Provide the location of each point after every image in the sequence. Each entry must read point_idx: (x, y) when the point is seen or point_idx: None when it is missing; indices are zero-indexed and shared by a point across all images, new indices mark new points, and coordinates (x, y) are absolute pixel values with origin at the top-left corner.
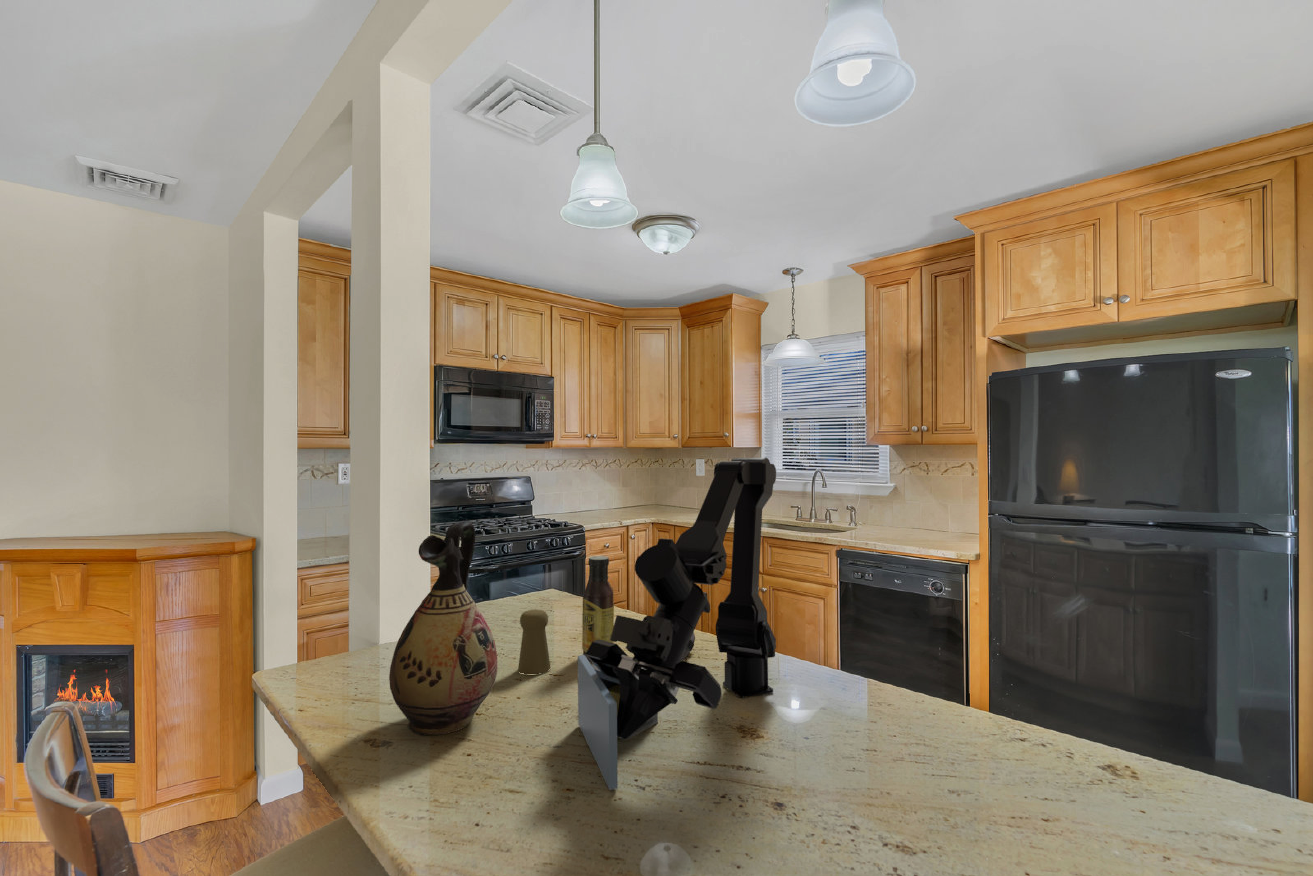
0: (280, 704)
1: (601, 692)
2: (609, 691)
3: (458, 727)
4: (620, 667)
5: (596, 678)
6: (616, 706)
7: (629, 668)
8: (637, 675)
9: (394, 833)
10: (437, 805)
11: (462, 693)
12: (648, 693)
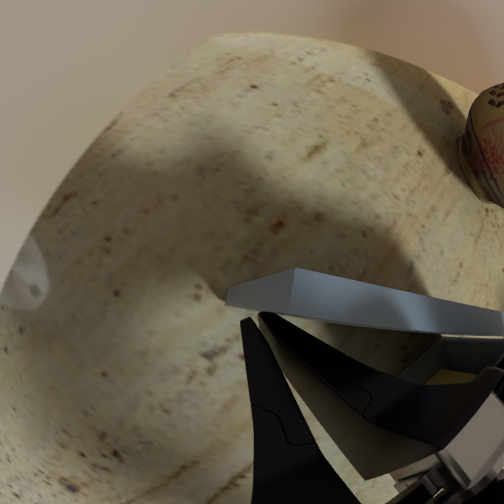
0: None
1: (420, 296)
2: (470, 381)
3: (466, 172)
4: (487, 405)
5: (490, 323)
6: (280, 310)
7: (458, 450)
8: (417, 472)
9: (282, 39)
10: (319, 76)
11: (490, 141)
12: (254, 488)
